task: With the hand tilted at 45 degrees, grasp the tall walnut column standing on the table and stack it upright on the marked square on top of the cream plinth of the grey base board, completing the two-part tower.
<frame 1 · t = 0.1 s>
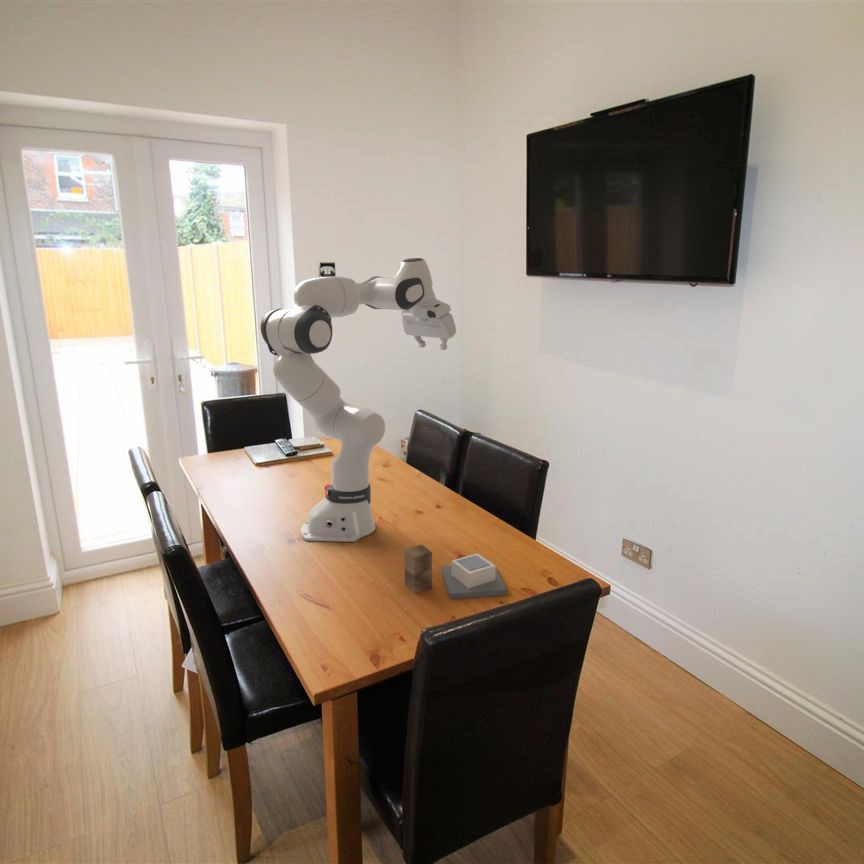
hand: (433, 348, 202), 52 cm above the table, tool tilted 20°, fingers open, 8 cm apart
walnut column: (418, 586, 155), on the table
base board: (472, 582, 157), on the table
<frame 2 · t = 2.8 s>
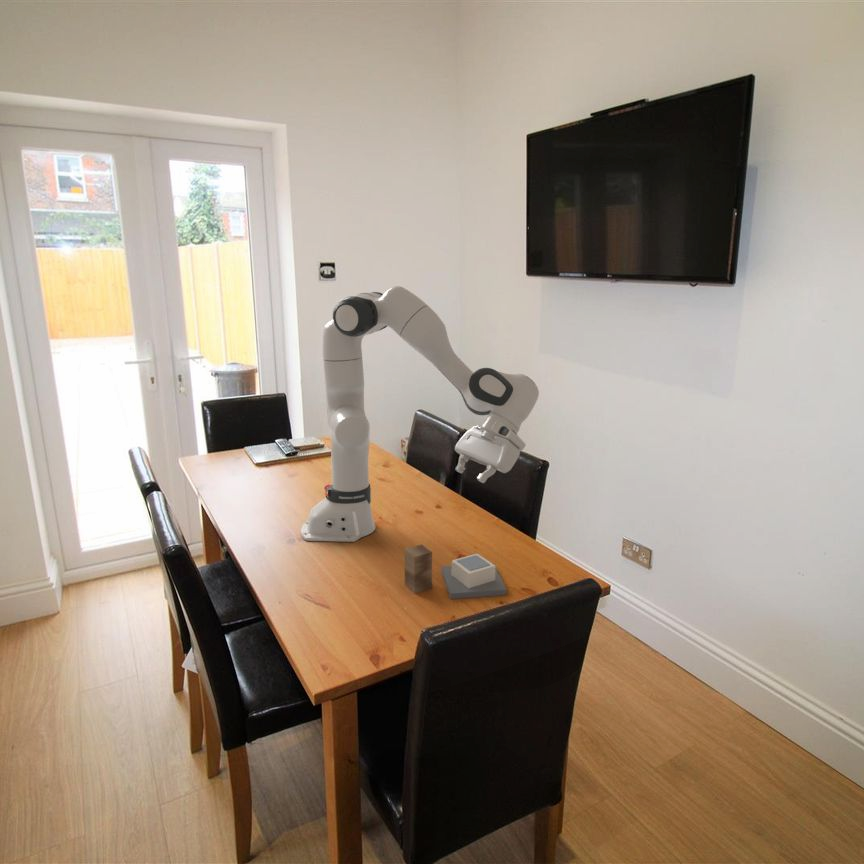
hand: (468, 476, 157), 26 cm above the table, tool tilted 40°, fingers open, 8 cm apart
nothing on the table moved.
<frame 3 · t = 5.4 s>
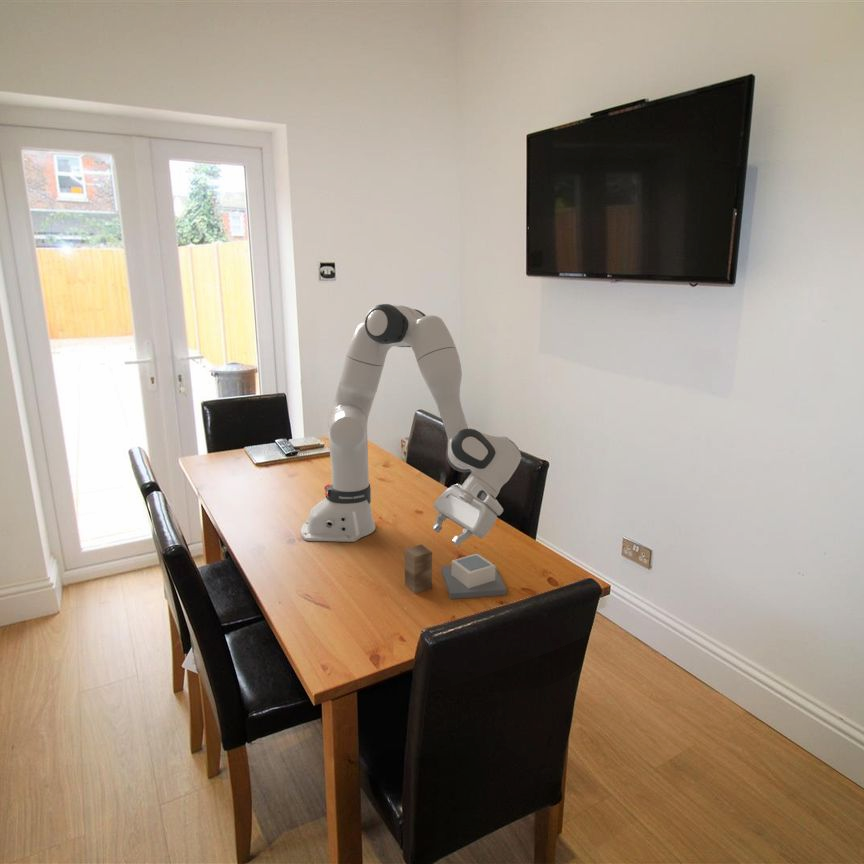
hand: (444, 537, 156), 12 cm above the table, tool tilted 45°, fingers open, 8 cm apart
nothing on the table moved.
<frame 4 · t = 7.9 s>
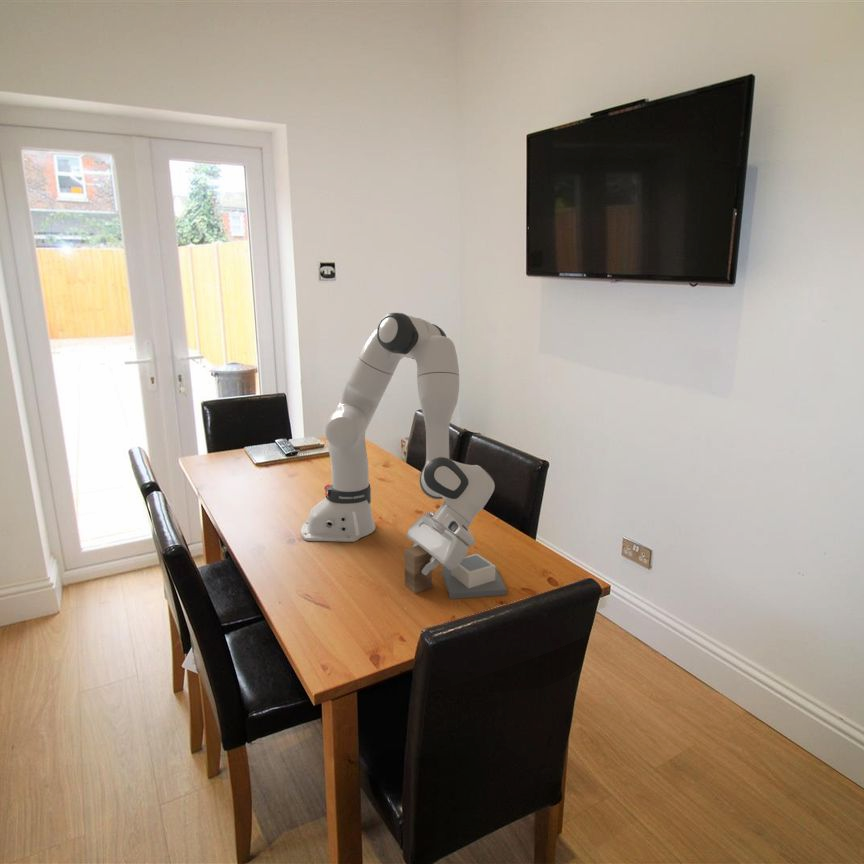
hand: (416, 567, 153), 5 cm above the table, tool tilted 45°, fingers closed on walnut column, 5 cm apart
walnut column: (418, 586, 155), on the table, touching gripper
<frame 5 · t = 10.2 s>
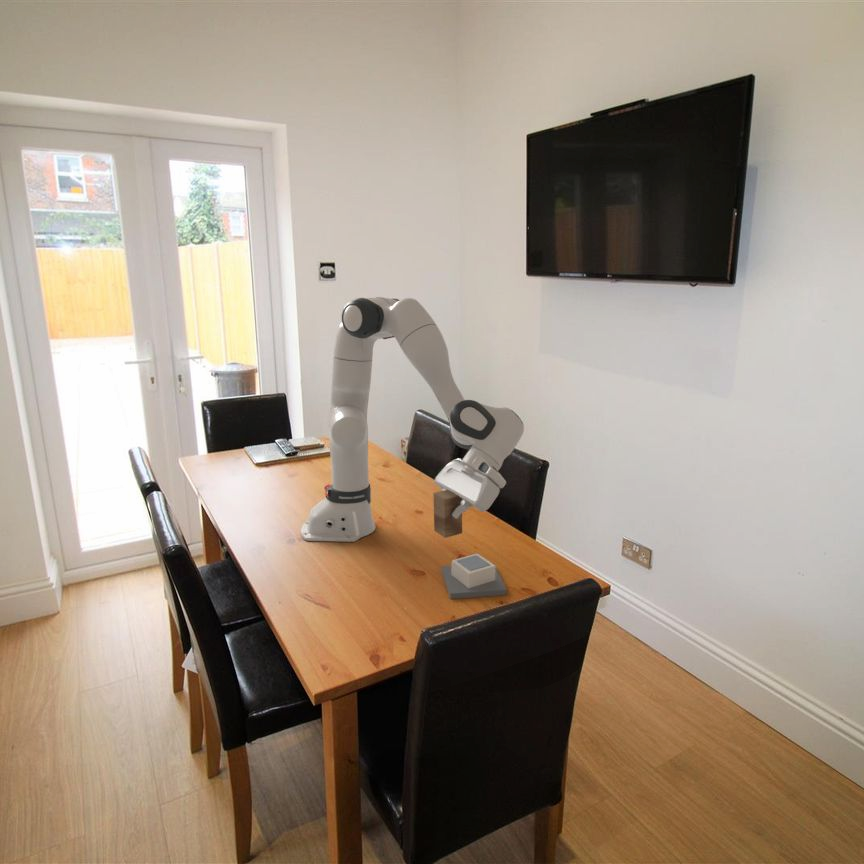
hand: (445, 512, 150), 20 cm above the table, tool tilted 45°, fingers closed on walnut column, 5 cm apart
walnut column: (448, 531, 152), point 15 cm above the table, touching gripper
when the fingers open (13 cm above the table, at t = 12.7 s): walnut column drops 1 cm, resting on base board.
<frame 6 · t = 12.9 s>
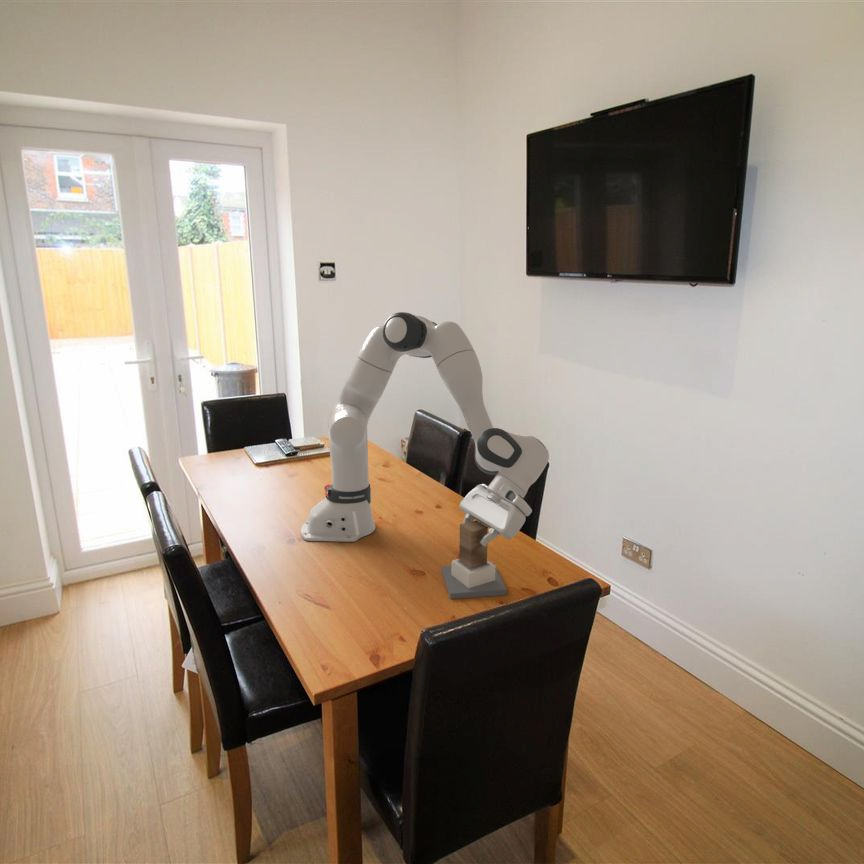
hand: (471, 538, 153), 13 cm above the table, tool tilted 45°, fingers open, 7 cm apart
walnut column: (473, 562, 155), point 6 cm above the table, touching base board
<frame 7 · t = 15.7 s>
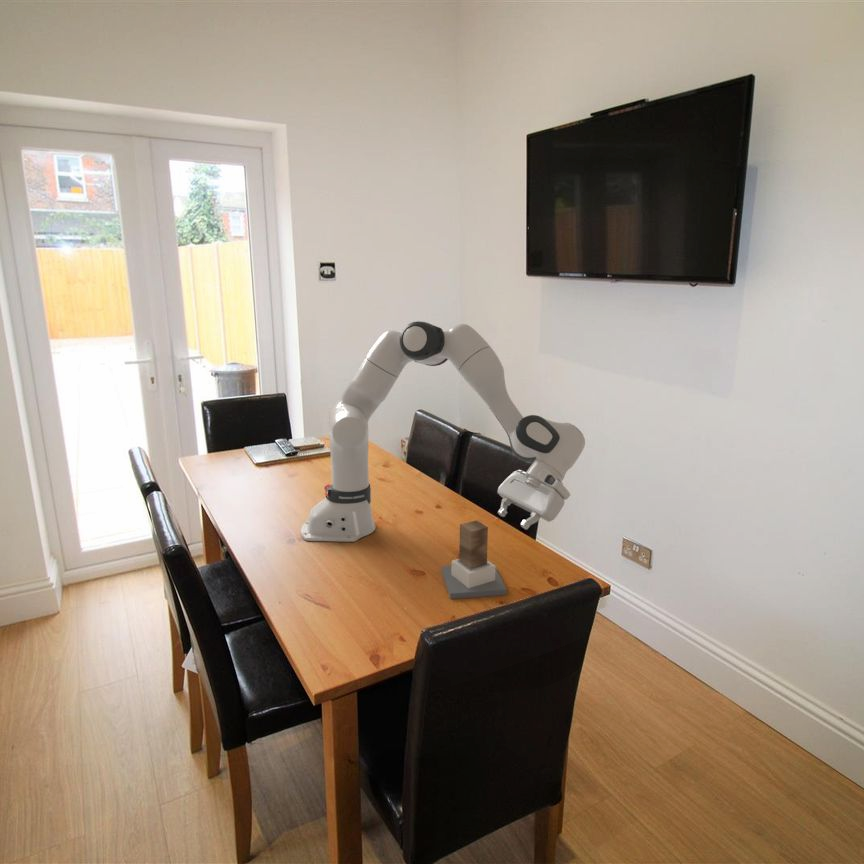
hand: (511, 521, 159), 14 cm above the table, tool tilted 45°, fingers open, 8 cm apart
nothing on the table moved.
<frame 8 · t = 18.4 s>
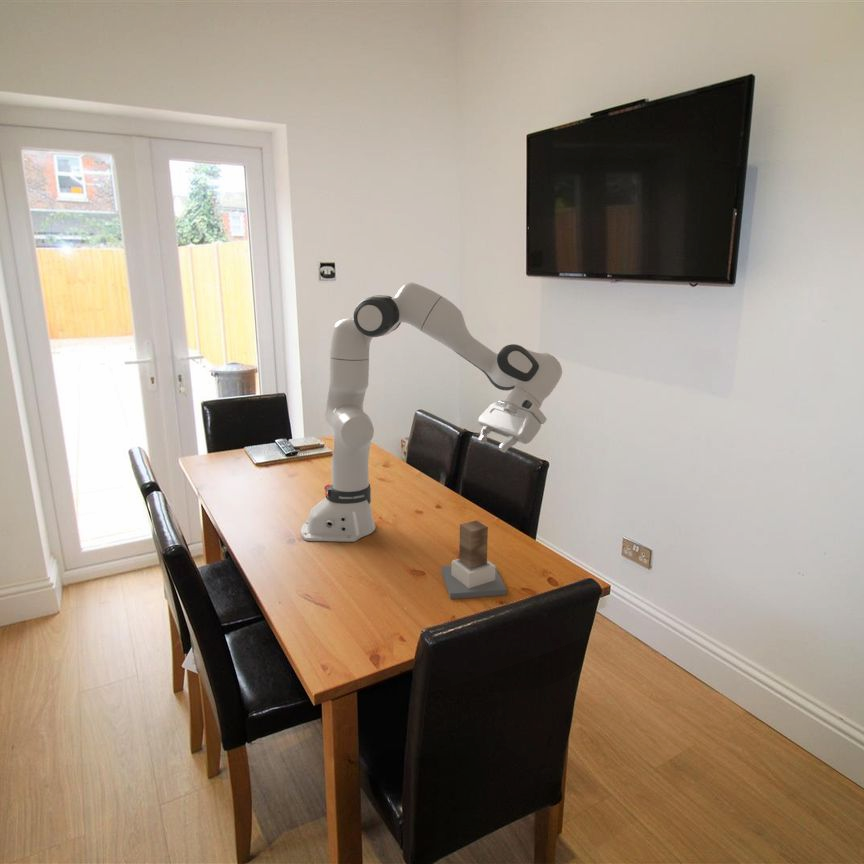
hand: (490, 446, 165), 31 cm above the table, tool tilted 45°, fingers open, 8 cm apart
nothing on the table moved.
at the end: walnut column 0.1 cm off-centre on the base board, point 5.7 cm above the base board's base; walnut column tilted 0°; the gripper is holding nothing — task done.
